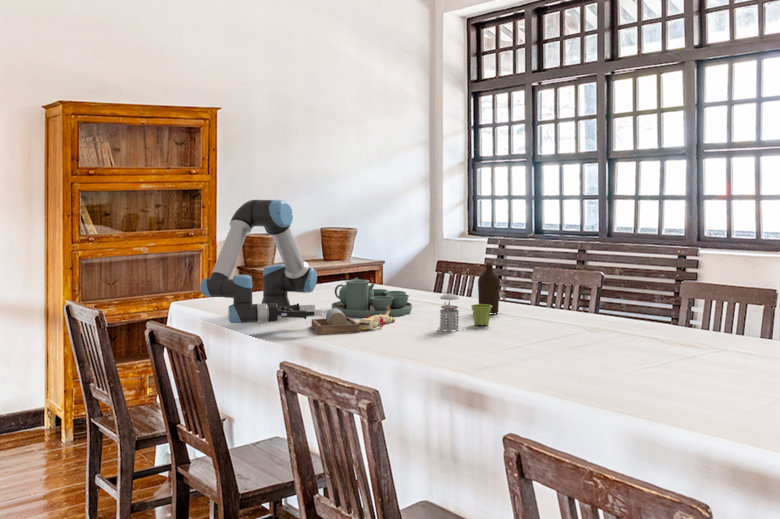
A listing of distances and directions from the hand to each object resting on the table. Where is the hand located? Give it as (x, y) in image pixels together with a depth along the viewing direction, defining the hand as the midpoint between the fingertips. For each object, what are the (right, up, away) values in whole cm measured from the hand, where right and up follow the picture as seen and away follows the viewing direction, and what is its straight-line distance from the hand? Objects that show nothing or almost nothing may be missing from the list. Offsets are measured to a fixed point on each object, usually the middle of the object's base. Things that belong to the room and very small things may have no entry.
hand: (318, 310), depth 288 cm
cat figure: (+24, -8, +11) cm, 28 cm away
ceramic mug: (+9, -8, +4) cm, 12 cm away
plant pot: (+70, -8, +15) cm, 72 cm away
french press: (+55, -9, +4) cm, 56 cm away
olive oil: (+78, -5, +46) cm, 91 cm away
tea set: (+21, -5, +51) cm, 56 cm away
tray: (+7, -8, +3) cm, 11 cm away
